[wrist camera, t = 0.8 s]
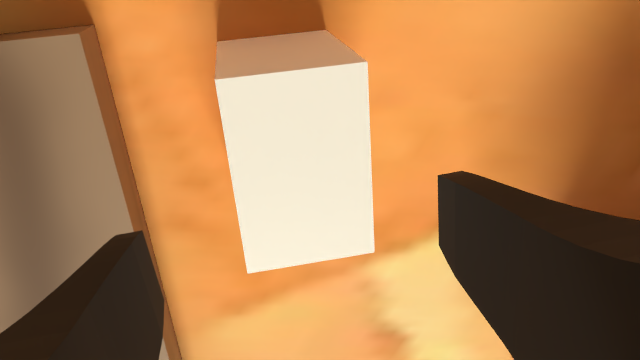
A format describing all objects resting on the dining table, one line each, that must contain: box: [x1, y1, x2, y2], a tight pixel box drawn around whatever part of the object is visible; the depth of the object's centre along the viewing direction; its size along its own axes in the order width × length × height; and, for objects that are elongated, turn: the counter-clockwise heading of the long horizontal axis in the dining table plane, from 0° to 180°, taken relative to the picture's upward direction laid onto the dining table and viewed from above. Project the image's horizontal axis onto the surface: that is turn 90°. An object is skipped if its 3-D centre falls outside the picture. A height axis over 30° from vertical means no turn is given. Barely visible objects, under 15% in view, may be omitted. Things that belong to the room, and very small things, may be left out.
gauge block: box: [215, 30, 374, 273], centre depth 17 cm, size 4×6×6 cm, turn 4°
